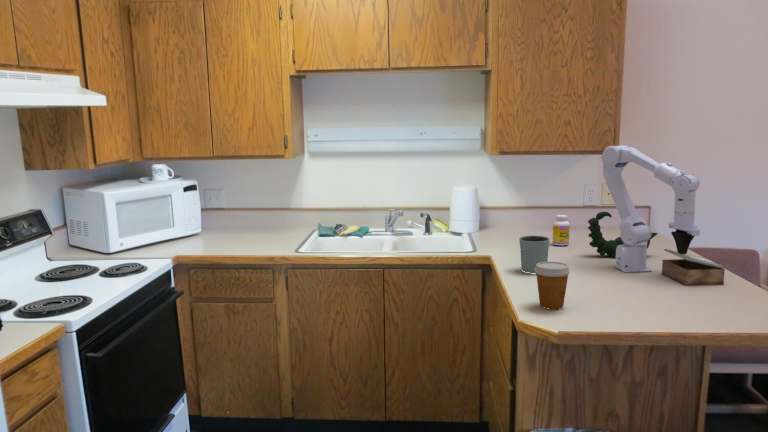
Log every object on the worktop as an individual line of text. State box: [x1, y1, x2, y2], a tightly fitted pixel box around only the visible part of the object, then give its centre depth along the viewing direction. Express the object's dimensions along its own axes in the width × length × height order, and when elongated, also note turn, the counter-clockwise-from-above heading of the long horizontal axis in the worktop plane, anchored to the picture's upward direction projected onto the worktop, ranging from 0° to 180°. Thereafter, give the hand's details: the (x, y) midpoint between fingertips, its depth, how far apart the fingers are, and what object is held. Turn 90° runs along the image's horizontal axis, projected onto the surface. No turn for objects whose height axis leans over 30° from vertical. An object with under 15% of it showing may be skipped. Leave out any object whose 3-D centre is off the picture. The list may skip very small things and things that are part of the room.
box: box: [661, 258, 725, 287], centre depth 174 cm, size 12×14×5 cm
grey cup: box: [519, 235, 550, 273], centre depth 188 cm, size 10×10×12 cm
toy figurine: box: [587, 211, 658, 259], centre depth 205 cm, size 9×19×25 cm
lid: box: [663, 248, 726, 269], centre depth 173 cm, size 12×14×1 cm
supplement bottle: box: [552, 214, 571, 246], centre depth 228 cm, size 7×7×13 cm
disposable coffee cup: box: [535, 261, 571, 310], centre depth 151 cm, size 10×10×12 cm
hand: (682, 253), depth 174 cm, fingers closed, pressing on lid
